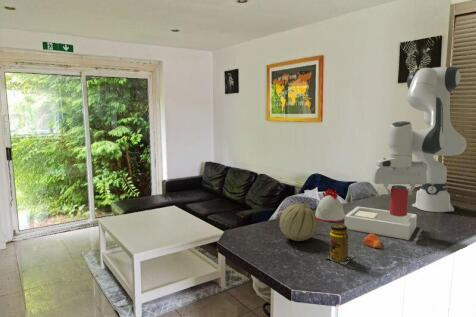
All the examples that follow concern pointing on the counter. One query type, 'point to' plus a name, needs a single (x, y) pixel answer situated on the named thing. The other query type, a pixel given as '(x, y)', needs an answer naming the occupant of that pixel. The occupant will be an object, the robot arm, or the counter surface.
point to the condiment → (339, 244)
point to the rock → (372, 241)
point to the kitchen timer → (330, 208)
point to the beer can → (398, 200)
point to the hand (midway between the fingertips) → (398, 194)
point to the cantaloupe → (298, 222)
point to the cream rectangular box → (367, 215)
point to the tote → (382, 223)
